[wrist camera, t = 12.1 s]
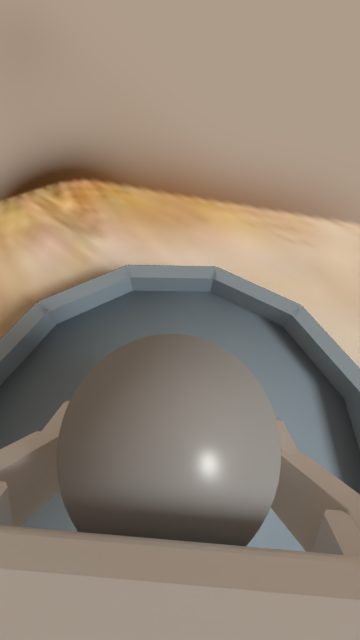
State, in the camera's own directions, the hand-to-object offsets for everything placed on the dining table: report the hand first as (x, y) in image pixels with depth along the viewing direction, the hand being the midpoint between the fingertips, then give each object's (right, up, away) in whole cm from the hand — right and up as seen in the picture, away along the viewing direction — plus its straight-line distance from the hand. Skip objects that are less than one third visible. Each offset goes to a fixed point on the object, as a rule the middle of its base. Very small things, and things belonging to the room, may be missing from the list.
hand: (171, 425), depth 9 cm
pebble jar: (0, -3, +4) cm, 5 cm away
